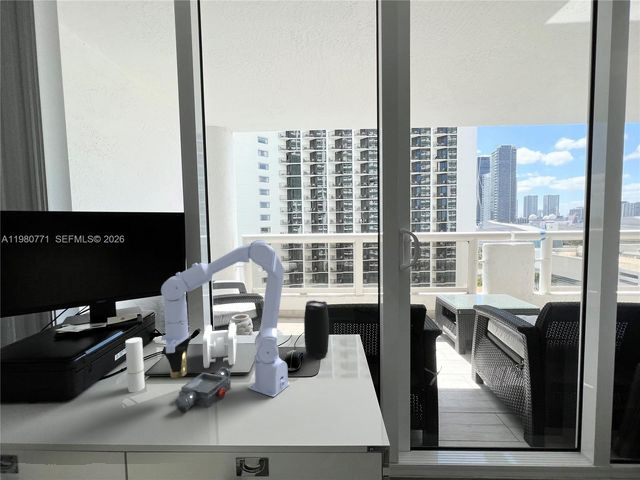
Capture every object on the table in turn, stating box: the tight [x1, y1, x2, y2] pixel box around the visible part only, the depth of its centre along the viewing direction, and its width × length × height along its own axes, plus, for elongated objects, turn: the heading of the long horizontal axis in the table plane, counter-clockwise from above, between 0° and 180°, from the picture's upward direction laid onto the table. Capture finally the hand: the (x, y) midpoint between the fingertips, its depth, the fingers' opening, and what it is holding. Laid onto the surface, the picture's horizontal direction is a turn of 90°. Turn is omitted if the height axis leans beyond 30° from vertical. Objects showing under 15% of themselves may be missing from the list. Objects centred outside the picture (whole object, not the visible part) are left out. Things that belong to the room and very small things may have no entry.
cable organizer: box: [202, 322, 238, 369], centre depth 114 cm, size 15×11×12 cm
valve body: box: [175, 366, 232, 414], centre depth 92 cm, size 18×11×4 cm, turn 160°
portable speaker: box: [303, 300, 330, 360], centre depth 117 cm, size 9×9×20 cm
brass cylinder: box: [169, 351, 188, 379], centre depth 90 cm, size 4×4×6 cm
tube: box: [125, 337, 146, 393], centre depth 96 cm, size 4×4×15 cm
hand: (178, 367), depth 90 cm, fingers closed on brass cylinder, 4 cm apart
